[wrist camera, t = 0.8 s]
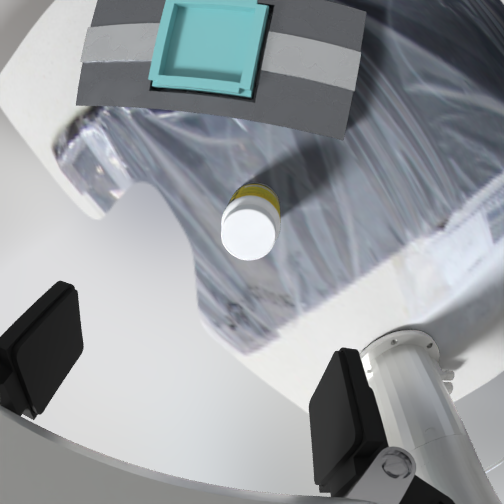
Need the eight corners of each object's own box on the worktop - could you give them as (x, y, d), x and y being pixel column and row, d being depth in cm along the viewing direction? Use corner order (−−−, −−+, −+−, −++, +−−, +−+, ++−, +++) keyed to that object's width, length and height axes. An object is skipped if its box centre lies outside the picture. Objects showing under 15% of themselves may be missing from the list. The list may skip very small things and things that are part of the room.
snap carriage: (269, 13, 21) (268, 0, 18) (252, 98, 25) (249, 95, 22) (177, 6, 21) (166, -6, 18) (160, 88, 25) (146, 84, 22)
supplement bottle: (234, 178, 30) (219, 197, 22) (283, 186, 30) (287, 208, 22) (227, 225, 32) (212, 259, 24) (275, 233, 32) (275, 270, 24)
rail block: (355, 24, 23) (367, 10, 19) (334, 138, 28) (344, 140, 24) (118, 1, 23) (98, -11, 19) (96, 105, 28) (73, 105, 23)
